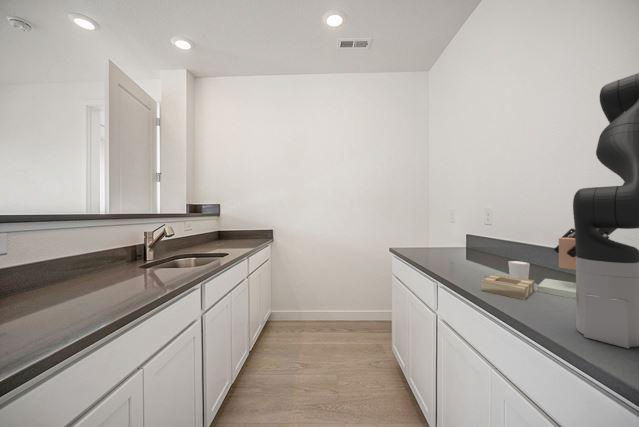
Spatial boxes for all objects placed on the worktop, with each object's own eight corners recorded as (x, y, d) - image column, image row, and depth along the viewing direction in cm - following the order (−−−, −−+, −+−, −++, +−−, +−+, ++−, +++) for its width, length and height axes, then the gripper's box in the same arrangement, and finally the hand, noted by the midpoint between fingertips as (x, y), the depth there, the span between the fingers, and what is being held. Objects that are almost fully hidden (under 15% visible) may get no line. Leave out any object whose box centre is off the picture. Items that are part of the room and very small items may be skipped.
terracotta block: (577, 269, 80) (577, 239, 80) (559, 267, 84) (558, 238, 84) (579, 267, 83) (578, 238, 83) (560, 265, 87) (560, 237, 87)
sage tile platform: (599, 302, 74) (599, 296, 74) (537, 291, 85) (537, 285, 85) (601, 292, 83) (601, 286, 83) (545, 283, 93) (545, 278, 93)
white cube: (534, 281, 96) (534, 264, 96) (516, 282, 96) (516, 264, 96) (520, 277, 103) (520, 260, 103) (504, 277, 103) (503, 260, 103)
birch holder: (524, 299, 77) (524, 288, 77) (481, 290, 86) (481, 280, 86) (534, 290, 86) (534, 280, 86) (494, 283, 95) (493, 274, 95)
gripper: (579, 210, 88) (540, 243, 92) (615, 210, 74) (567, 248, 78) (598, 225, 87) (558, 257, 90) (638, 228, 73) (589, 266, 76)
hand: (562, 253), depth 84 cm, fingers closed on terracotta block, 6 cm apart
